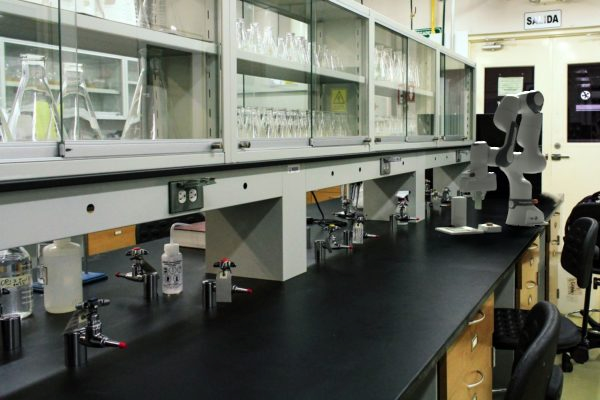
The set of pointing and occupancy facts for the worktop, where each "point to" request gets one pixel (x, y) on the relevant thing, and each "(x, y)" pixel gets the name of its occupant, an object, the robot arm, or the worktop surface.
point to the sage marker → (478, 199)
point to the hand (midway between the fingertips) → (478, 199)
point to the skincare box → (458, 211)
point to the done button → (489, 224)
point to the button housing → (489, 228)
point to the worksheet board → (459, 230)
